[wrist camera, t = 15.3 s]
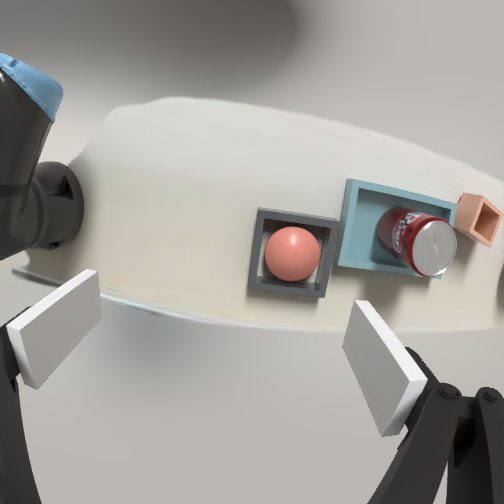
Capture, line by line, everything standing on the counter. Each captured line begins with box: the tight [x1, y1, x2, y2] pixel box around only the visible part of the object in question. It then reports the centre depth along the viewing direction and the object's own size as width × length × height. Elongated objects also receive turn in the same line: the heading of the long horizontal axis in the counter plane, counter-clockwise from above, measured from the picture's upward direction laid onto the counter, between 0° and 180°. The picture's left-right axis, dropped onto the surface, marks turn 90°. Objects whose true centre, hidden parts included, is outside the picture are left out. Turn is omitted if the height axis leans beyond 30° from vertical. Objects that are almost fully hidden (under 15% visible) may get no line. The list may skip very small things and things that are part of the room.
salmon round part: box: [265, 226, 320, 281], centre depth 42 cm, size 8×8×2 cm
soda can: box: [376, 207, 457, 277], centre depth 36 cm, size 7×7×12 cm
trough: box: [333, 179, 457, 279], centre depth 41 cm, size 18×12×3 cm, turn 83°
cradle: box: [248, 207, 339, 298], centre depth 42 cm, size 11×11×3 cm
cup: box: [453, 193, 503, 248], centre depth 38 cm, size 6×6×6 cm
